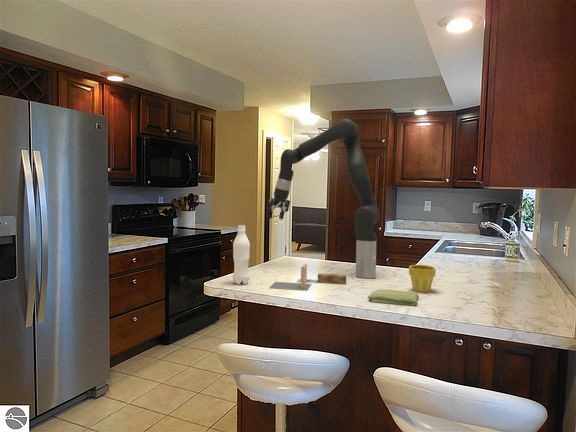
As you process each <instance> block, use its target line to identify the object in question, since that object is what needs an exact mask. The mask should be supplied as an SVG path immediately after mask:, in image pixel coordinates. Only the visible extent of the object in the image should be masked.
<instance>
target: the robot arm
mask: <svg viewBox="0 0 576 432" xmlns="http://www.w3.org/2000/svg"><path fill="white" fill-rule="evenodd" d="M359 132H360V131H359V127H358V125H357V123H356V122H354V121H352V120H351V119H349V118H342V119H340V120H339V121H337V122H336V123H335V124H333V125H332V126H330V127H329V128H328V129H326V130H324V131H323V132H321V133H319V134H317V135H316V136H314V137H311V138H310V139H308V140H306V141H303V142H301V143H300V144H298V147H296V148H295V149H291V148H289V149H288V148H287V149H285V150H284V151H283V152H281V156H280V164H279V167H280V170H279V172H278V177H277V180H276V183H275V189H274V192H273V196H274V197H273V198H272V197H269V198H268V201H267V202H266V203H267V204H266V207H265V208H266V210H268V212H267V218H268V219H272V217H273V214H274V211H275V210H277V208H278V209H280V213H279V216H278V218H279V220H284V217H285V214H286V212H289V209H290V206H291V205H290V204H291V201H290V200H288V198H289V195H290V190H291V188H292V187H291V186H292V181H293V177H294V170H293V165H295V164H298V163H300V162H301V161H302V160H304V159H305V158H307V157H309V156H311V155H313V154H315V153H317V152H319V151H321V150H322V149H323V148H324V147H326V146H327V145H328V144H330V143H332V142H334V141H337V140H340V139H342V141H343V144H344V147H345V150H346V171H347V172H346V173H347V175H348V179H349V182H350V184H351V186H352V189H353V190H354V191H355V193H356V194H357V197H358V199H359V200H358V201H359V203H360V207H358V208H357V210H356V211H355V214H354V215H355V216H354V234H355V236H356V243H355V244H356V245H355V246H356V248H355V251H356V252H355V253H356V254H355V277H357V278H361V279H376V272H377V271H376V270H377V239H378V236H377V233H375V231H374V230H375V229H374V228H375V227H374V225H376V224H377V223H378V222H379V220H380V210H379V207H378V204H377V202H376V199H375V196H374V194H373V190H372V189H373V188H372V184H371V179H370V176H369V175H370V174H369V172H368V167H367V163H366V160H365V157H364V153H363V151H362V146H361V140H360V133H359Z"/></svg>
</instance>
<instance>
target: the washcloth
mask: <svg viewBox="0 0 576 432" xmlns="http://www.w3.org/2000/svg"><path fill="white" fill-rule="evenodd" d="M367 299H368V300H370V301H371V303H374V304H375V303H376V304H384V305H385V304H387V305H397V306H399V305H400V306H409V307H415V306H417V305H418V299H419V294H418V293H417V291H414V290H413V291H412V290H409V291H405V290H392V289H375V290H373V291H372V292H370V294H369V295H367Z"/></svg>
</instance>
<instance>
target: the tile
mask: <svg viewBox="0 0 576 432" xmlns="http://www.w3.org/2000/svg"><path fill="white" fill-rule="evenodd" d="M307 268H308V263H303V264H302V265H301V267H300V279H301V282H300V283H301V289H304V288H305V287H306V285H307V284H308V283H307V279H308V278H307V277H308V273H307V272H308V269H307Z"/></svg>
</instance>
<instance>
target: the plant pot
mask: <svg viewBox="0 0 576 432" xmlns="http://www.w3.org/2000/svg"><path fill="white" fill-rule="evenodd" d="M436 271H437V270H436V267H435V266H431V265H426V264H411V265H409V267H408V275H409V276H410V280H411V285H412V290H413V291H414V292H416V293H417V292H418V293H428V292H431V288H432V284H433V281H434V277H436V273H437V272H436Z"/></svg>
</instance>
